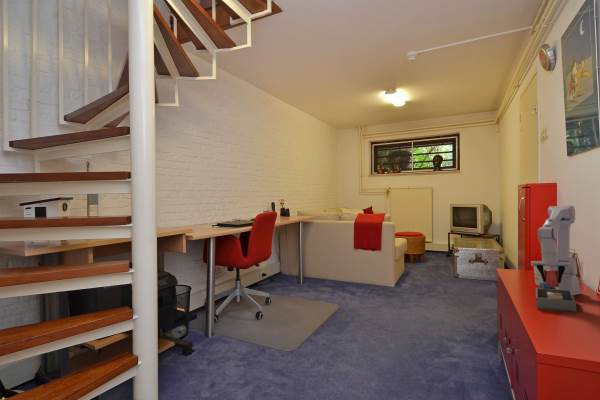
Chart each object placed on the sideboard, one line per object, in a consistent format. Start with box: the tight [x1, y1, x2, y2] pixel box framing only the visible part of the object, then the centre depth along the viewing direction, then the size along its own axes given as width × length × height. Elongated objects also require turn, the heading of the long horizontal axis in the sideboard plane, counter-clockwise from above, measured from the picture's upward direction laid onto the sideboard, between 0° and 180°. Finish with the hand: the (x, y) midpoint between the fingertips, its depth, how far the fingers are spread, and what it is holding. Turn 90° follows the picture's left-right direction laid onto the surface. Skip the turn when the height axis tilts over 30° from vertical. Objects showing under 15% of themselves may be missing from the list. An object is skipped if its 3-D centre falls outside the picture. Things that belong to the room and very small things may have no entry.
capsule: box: [544, 269, 559, 288], centre depth 146 cm, size 5×5×7 cm
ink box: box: [533, 266, 554, 289], centre depth 171 cm, size 9×5×12 cm, turn 168°
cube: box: [547, 292, 562, 300], centre depth 139 cm, size 5×5×5 cm
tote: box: [535, 287, 577, 314], centre depth 142 cm, size 17×13×5 cm
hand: (551, 281), depth 146 cm, fingers closed on capsule, 5 cm apart
